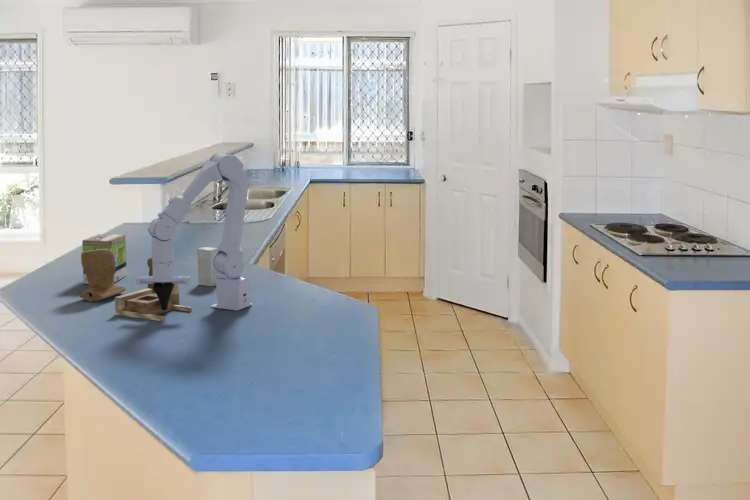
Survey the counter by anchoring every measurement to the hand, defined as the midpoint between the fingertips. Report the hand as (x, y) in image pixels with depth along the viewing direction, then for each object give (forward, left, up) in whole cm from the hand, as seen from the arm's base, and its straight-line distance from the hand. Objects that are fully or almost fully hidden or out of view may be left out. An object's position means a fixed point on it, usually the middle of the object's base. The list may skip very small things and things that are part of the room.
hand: (164, 309), depth 232 cm
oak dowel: (+6, -11, -1) cm, 12 cm away
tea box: (+49, -28, -2) cm, 56 cm away
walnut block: (+6, 0, -1) cm, 6 cm away
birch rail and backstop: (+4, 0, -1) cm, 4 cm away
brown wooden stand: (+32, -8, -2) cm, 33 cm away
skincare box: (+14, -38, -2) cm, 40 cm away
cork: (+22, -22, -2) cm, 31 cm away
